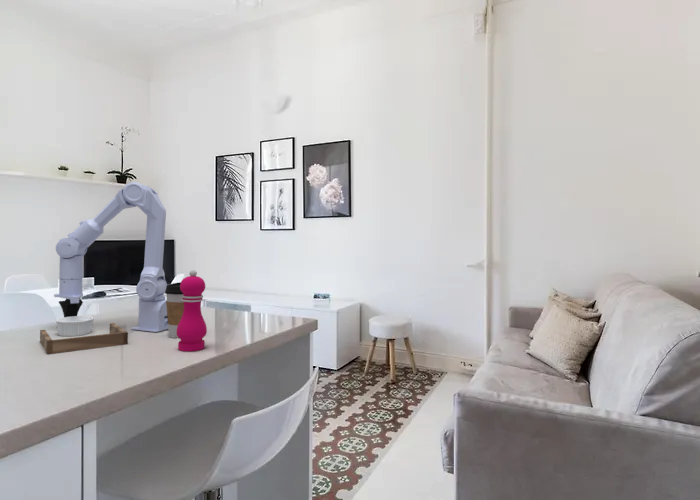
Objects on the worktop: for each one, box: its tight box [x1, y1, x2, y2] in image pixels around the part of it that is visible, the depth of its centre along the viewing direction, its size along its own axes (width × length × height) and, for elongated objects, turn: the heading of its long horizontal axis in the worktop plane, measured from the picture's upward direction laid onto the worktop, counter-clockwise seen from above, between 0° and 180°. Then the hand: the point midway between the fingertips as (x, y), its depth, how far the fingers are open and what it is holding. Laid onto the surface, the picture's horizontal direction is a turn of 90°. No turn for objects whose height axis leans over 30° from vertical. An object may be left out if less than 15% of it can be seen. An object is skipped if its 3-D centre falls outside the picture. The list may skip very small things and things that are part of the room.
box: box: [39, 322, 129, 355], centre depth 108 cm, size 15×17×3 cm
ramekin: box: [55, 315, 94, 337], centre depth 118 cm, size 9×9×4 cm
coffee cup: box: [164, 281, 184, 339], centre depth 119 cm, size 8×8×15 cm
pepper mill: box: [176, 269, 208, 352], centre depth 106 cm, size 7×7×20 cm
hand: (70, 324), depth 124 cm, fingers closed
